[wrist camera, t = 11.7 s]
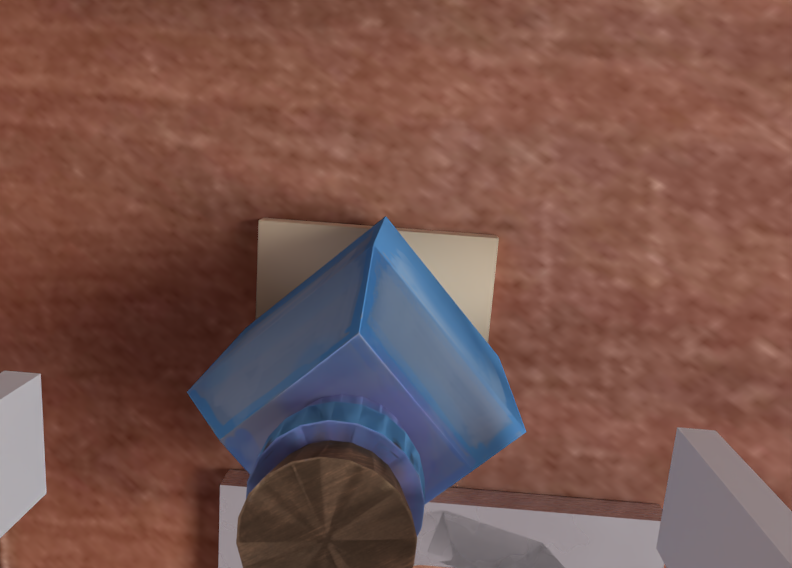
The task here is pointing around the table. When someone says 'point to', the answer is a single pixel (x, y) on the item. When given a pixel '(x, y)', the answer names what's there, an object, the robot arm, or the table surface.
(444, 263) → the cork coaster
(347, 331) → the perfume bottle
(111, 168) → the table surface
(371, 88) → the table surface
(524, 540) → the eye plate
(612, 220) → the table surface
